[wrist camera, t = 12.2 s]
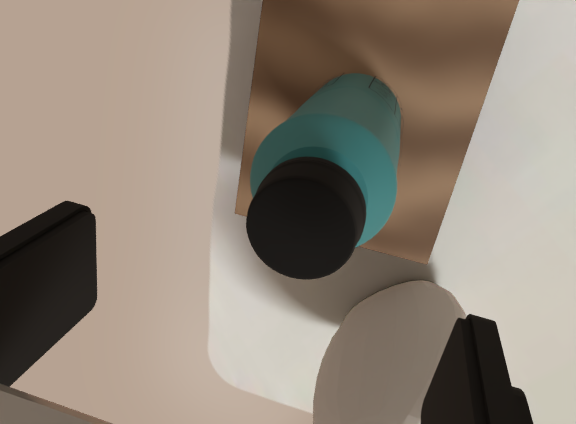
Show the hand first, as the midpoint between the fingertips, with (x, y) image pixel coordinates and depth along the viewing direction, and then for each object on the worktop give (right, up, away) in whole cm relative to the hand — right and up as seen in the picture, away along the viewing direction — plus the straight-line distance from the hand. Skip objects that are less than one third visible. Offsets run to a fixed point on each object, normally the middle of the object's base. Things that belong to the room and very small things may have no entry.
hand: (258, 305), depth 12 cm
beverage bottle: (+6, +9, +22) cm, 25 cm away
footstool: (+7, +12, +28) cm, 32 cm away
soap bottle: (+12, -8, +36) cm, 39 cm away
